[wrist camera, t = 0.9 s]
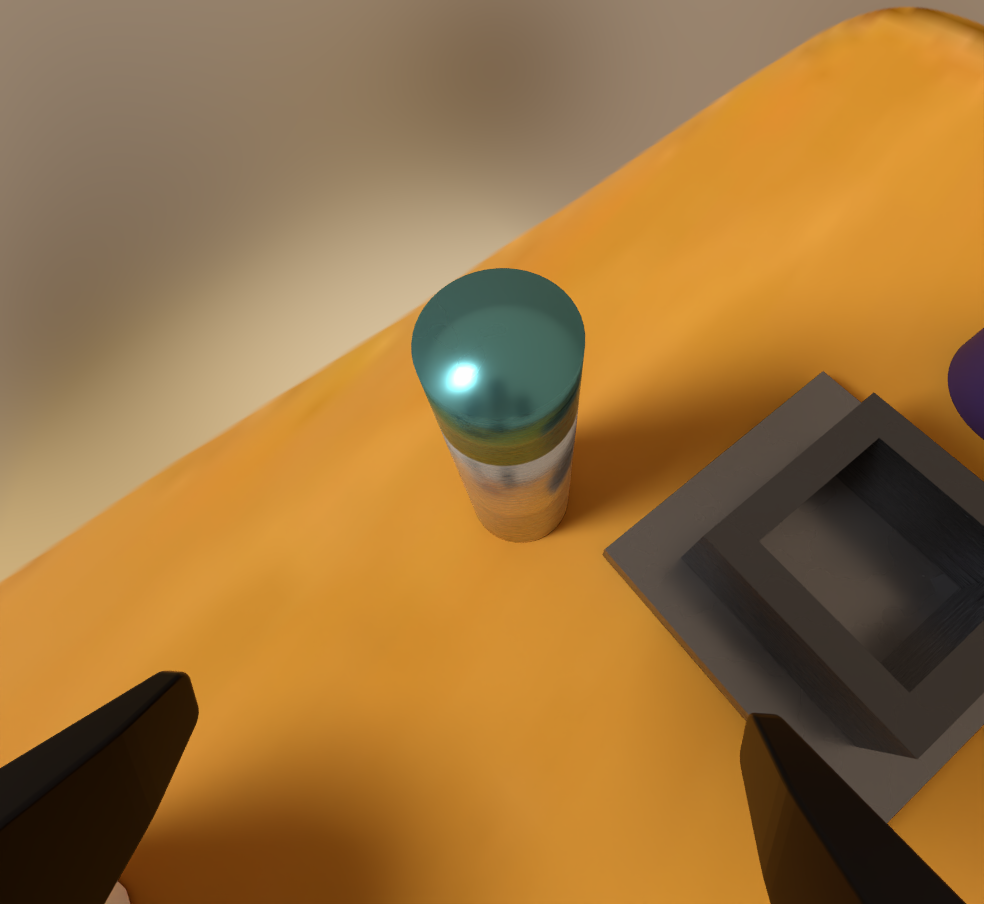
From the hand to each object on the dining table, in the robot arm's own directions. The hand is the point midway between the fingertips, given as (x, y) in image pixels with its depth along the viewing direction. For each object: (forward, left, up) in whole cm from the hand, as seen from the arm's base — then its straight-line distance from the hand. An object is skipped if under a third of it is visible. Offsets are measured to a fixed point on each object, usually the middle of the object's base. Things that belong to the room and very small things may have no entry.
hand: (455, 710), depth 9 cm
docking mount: (-4, -12, -13) cm, 19 cm away
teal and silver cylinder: (+6, -5, -13) cm, 15 cm away
